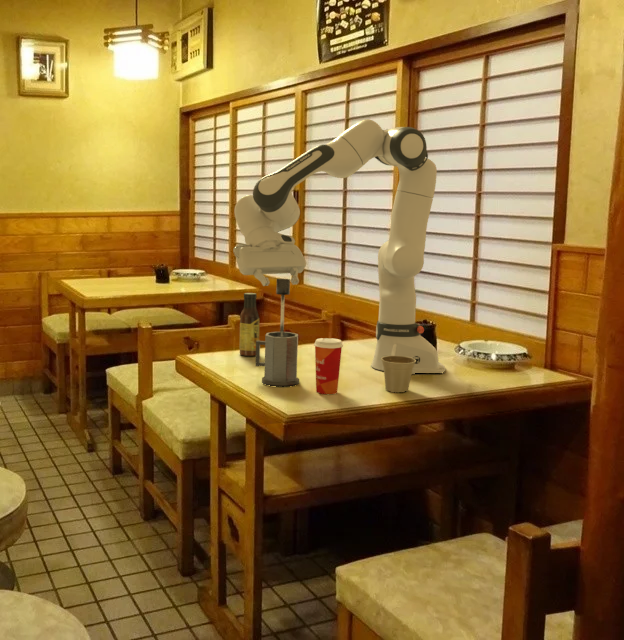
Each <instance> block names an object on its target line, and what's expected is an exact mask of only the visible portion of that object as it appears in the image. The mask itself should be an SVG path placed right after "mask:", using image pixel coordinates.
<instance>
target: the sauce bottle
mask: <svg viewBox="0 0 624 640" xmlns="http://www.w3.org/2000/svg"><path fill="white" fill-rule="evenodd" d="M243 300H244V302H243V309H242V310H241V312H240V315H239V316H240V317H239V319H240V320H239V321H240V322H239V345H238V348H239V355H241V356H243V357H254V356H255V357H256V340H257V341H260V315H259V313H258V309H257V293H255V292H254V293H253V292H245V293H243Z"/></svg>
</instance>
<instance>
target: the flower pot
mask: <svg viewBox="0 0 624 640" xmlns="http://www.w3.org/2000/svg"><path fill="white" fill-rule="evenodd" d="M381 360H382V363H383V366H384V371H383V373H384V386H385V390H386V391H389V392H391V393H394V392H395V393H396V392H403V393H404V392H405V391H407V392H408V391H409V389H410V383H411V379H412V378H411V377H412V375H413V374H412V369H413V367H414V363H415V362H416V360H415V359H413V358H410V357H405V356H385V357H382V358H381Z"/></svg>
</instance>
